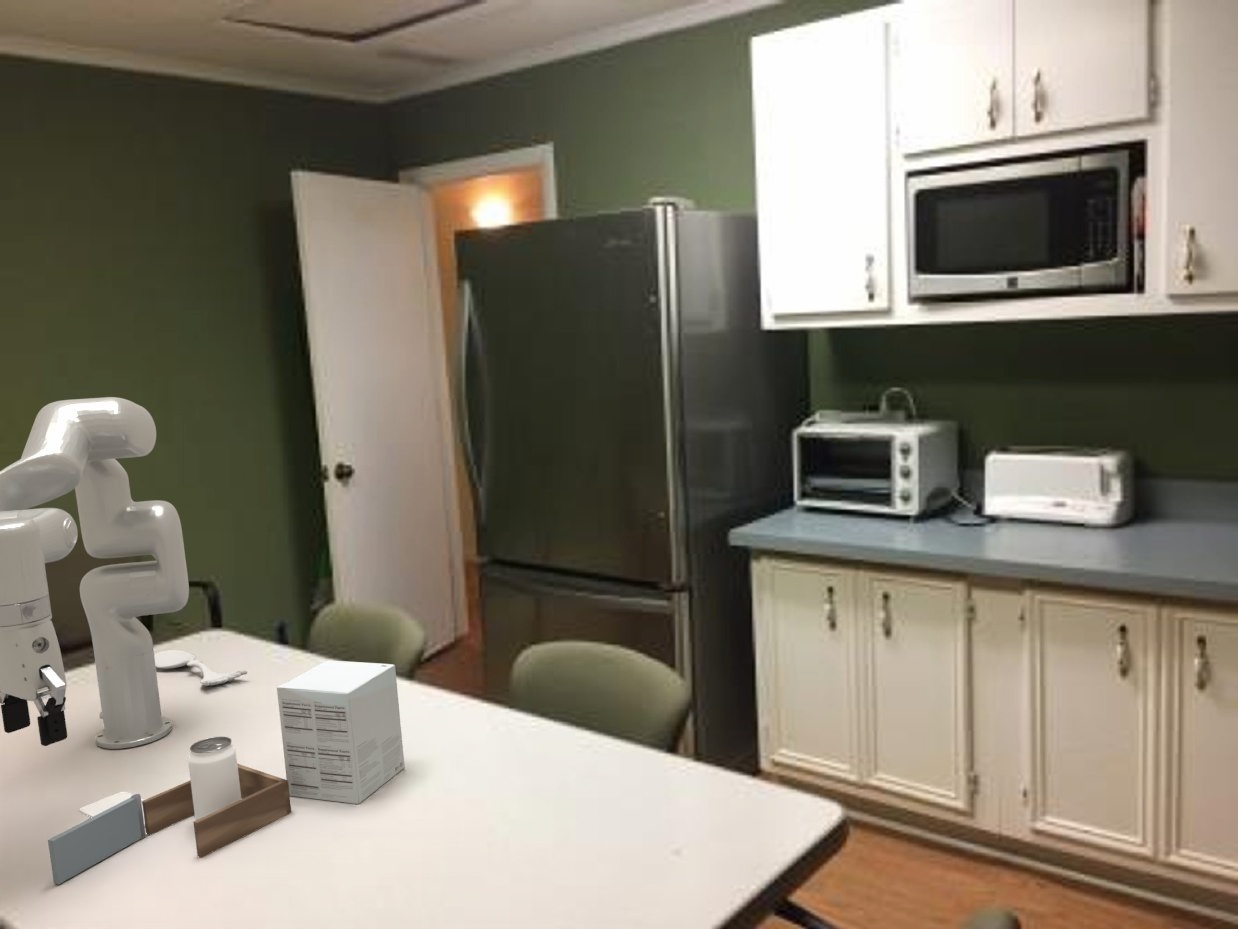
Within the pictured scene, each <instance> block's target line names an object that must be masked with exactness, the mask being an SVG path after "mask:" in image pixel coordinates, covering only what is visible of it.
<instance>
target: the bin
mask: <svg viewBox="0 0 1238 929" xmlns="http://www.w3.org/2000/svg"><path fill="white" fill-rule="evenodd" d="M237 765H238V774H239V782H240V791H241V800H239V801H237V802H235V803H233V804H230V805H228V806H226V807H224V808H222V809H220V810H217V811H215V812H213V813H211V814H209V815H207V816H205V817H202V818H200V819H198V820H196V821H195V820H193V828H194V829H193V830H194V838H195V846H196V854H197V855H196V856H197V857H198V856H199V857H198V858H203V857H205V856H207V855H209V854H211V853H213V852H216V851H217V850H219V849H221V848H223V847H225V846H227V845H229V844H231V843H233V842H235V841H238V840H239V839H241V838H243V837H245V836H247V835H249V834H251V833H253V832H255V831H258V830H259V829H261V828H263V827H265V826H267V825H269V824H272V823H274V822H275V821H278V820H279V819H282V818H284V817H285V816H287V815H289V814H291V813H292V805H291V796H290V794H289V785H288V780H287V779H286V778H282V777H280V776H276V775H273V774H270V773H266V772H264V771H260V770H257V769H254V768H252V767H249V766H247V765H246V766H245V765H242V764H241V763H237ZM142 805H143V813H144V821H145V834H146V833H147V834H146V835H147V836H151V835H153V834H155V833H157V832H160V831H162V830H164V829H166V828H168V827H171V826H173V825H175V824H177V823H179V822H180V821H183V820H186V819H188V818H190V817H192V816H195V813H194V805H193V797H192V789H191V780H190V779H189V780H188V781H186V782H183V783H181V784H179V785H176V786H174V787H172V788H169V789H167V790H165V791H162V792H160V793H158V794H155V795H153V796H150V797H148V798H146V799H144V800H143V801H142ZM172 824H173V825H172ZM161 829H162V830H161ZM159 830H160V831H159ZM152 833H153V834H152ZM150 834H151V835H150ZM212 851H213V852H212Z"/></svg>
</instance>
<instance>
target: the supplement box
mask: <svg viewBox="0 0 1238 929" xmlns="http://www.w3.org/2000/svg"><path fill="white" fill-rule="evenodd" d="M276 692H277V700H278V703H277V704H278V712H279V720H280V729H281V737H282V750H283V756H284V766H285V768H284V769H285V780H288V785H289V794H290V797H299V798H306V799H313V800H315V799H316V800H324V801H330V802H336V803H337V802H338V803H346V804H352V805H353V804H354V805H355V804H356V805H359V804H361V803H362V802H364V800H366V799H367V798H368V797H370V796H371V795H372V794H374V792H376V791H377V790H378V789H380V788H381V787H382V786H383V785H384V784H386V783H387V782H388V781H389V780H391V779H393V777H395V776H396V775H397V774H398V773H400V772H401V771H402V770H404V769H405V768H406V767H405V757H404V756H405V755H404V746H403V734H402V727H401V726H402V725H401V714H400V713H401V712H400V705H399V704H400V703H399V693H398V682H397V674H396V665H395V664H392V663H391V664H390V663H381V662H380V663H379V662H378V663H377V662H360V661H345V660H331V659H330V660H328V659H327V660H325V661H323V662H321V663H319V664H318V665H316V666H314V667H312V668H310V669H308V670H307V671H304V672H303V673H301V674H299V675H298V676H295V677H294V678H292V679H289V680H288V681H287V682H285V683H283V684H280V685H278V686H277V687H276Z"/></svg>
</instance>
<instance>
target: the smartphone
mask: <svg viewBox="0 0 1238 929" xmlns="http://www.w3.org/2000/svg"><path fill="white" fill-rule="evenodd" d="M132 795H133V793H130V792H127V791H120V792H117V793H115V794H112V795H109V796H106V797H104V798H102V799H99V800H97V801H95V802H91V803H90V804H87V805H85V806H82V807H80V808H79V812H80V813H81V812H82V813H81V814H83V815H85V816H87V815H88V816H87V817H89V816H90V817H89V818H91V817H94V816H95V815H97V814H99V813H101V812H103V811H105V810H107V809H109V808H111V807H113V806H115V805H117V804H119V803H121V802H123V801H125V800H127V799H129V798H131V796H132ZM143 800H145V798H142V797H141V803H142V801H143ZM142 811H143V805H142ZM143 818H144V813H143ZM144 826H145V821H144Z"/></svg>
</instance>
